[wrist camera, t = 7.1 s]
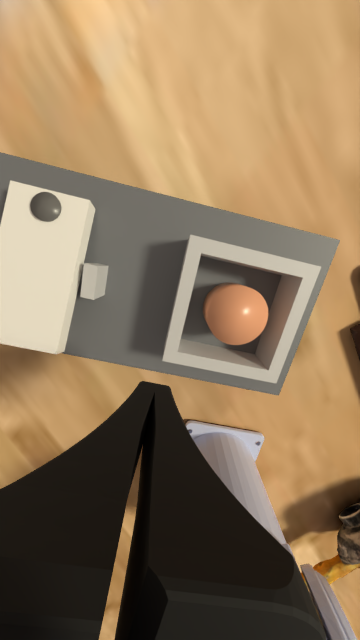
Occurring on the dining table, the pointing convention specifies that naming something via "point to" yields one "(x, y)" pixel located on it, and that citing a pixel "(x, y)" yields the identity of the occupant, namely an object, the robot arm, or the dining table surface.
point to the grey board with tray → (181, 280)
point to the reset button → (235, 313)
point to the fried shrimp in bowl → (344, 547)
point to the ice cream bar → (356, 337)
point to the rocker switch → (41, 265)
